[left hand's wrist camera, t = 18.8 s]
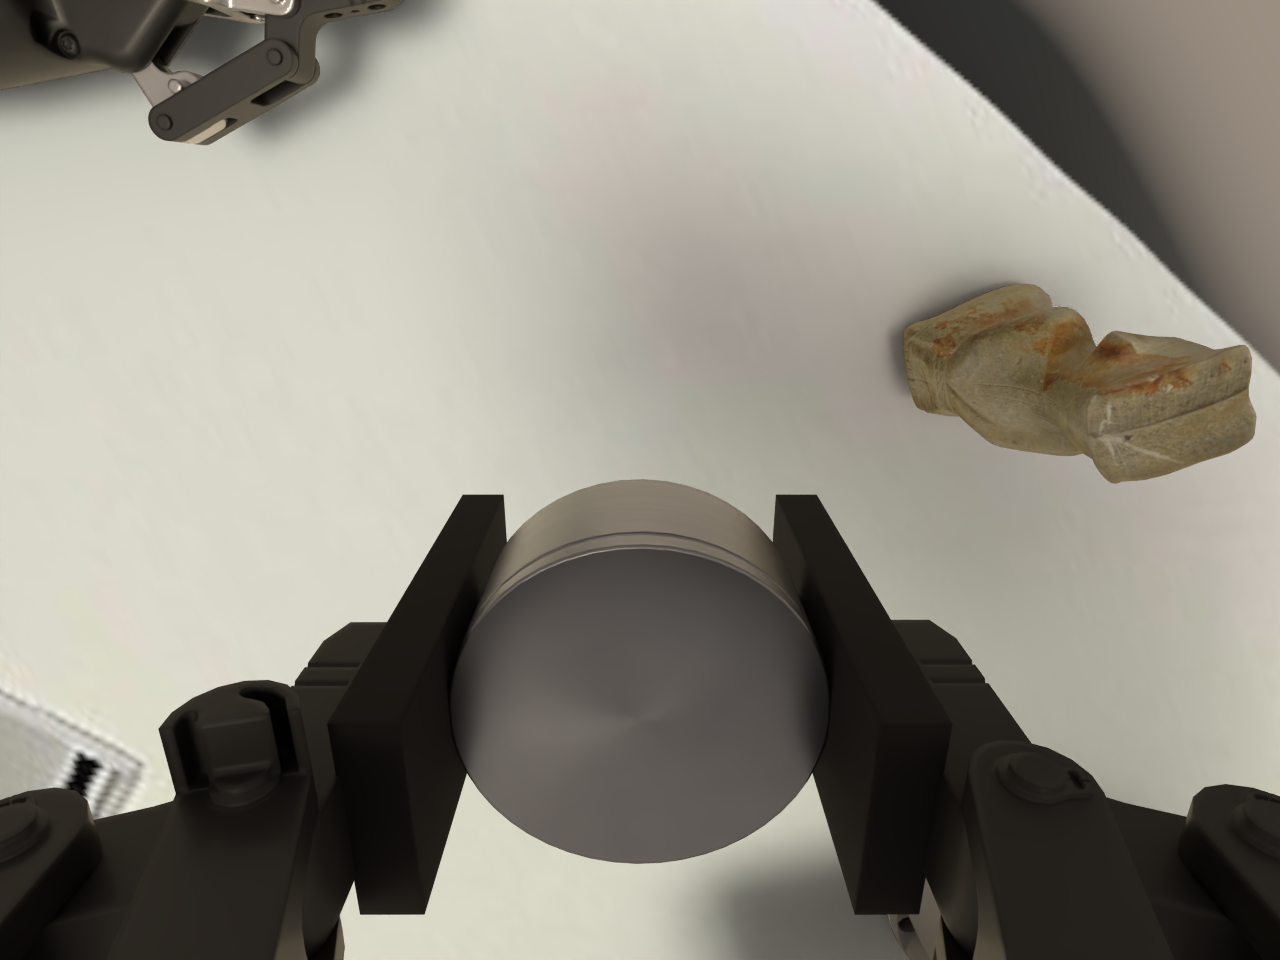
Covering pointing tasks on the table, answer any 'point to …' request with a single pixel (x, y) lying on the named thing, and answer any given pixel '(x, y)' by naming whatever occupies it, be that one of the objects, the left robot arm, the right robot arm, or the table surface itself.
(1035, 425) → the sculpture
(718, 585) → the lid
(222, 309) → the table surface
